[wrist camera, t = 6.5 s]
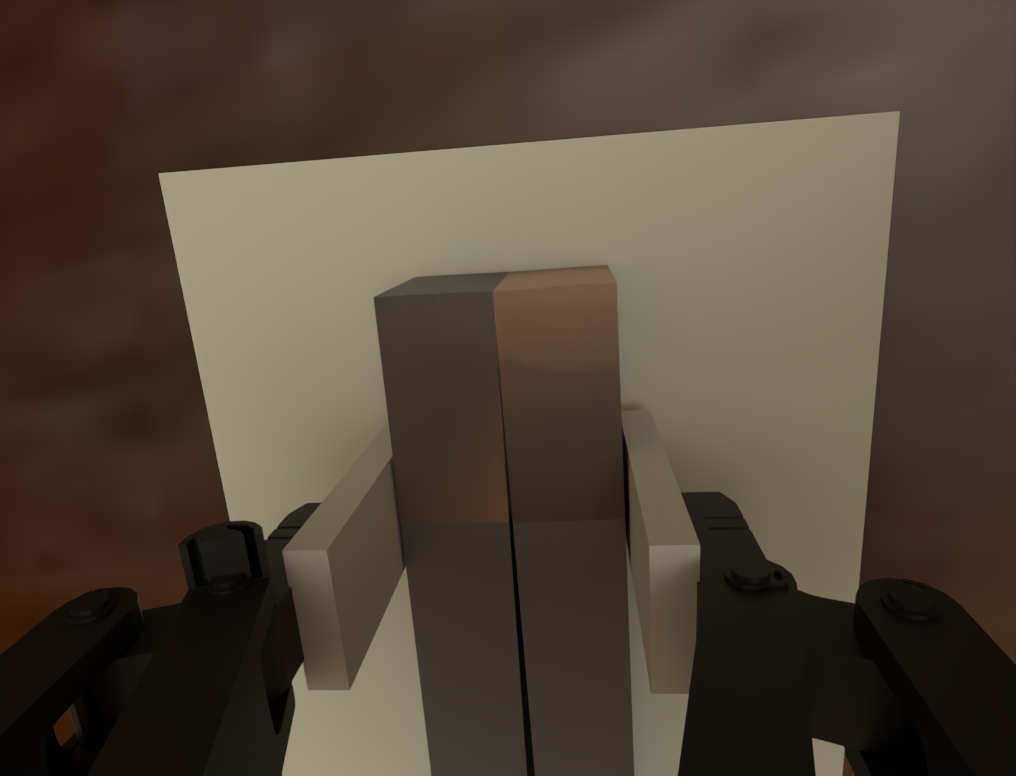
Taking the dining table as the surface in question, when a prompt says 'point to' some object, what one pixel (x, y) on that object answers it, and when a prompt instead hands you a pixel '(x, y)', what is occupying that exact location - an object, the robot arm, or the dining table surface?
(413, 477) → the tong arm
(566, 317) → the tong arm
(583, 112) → the dining table surface
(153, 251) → the dining table surface
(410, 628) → the tong mat
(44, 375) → the dining table surface
